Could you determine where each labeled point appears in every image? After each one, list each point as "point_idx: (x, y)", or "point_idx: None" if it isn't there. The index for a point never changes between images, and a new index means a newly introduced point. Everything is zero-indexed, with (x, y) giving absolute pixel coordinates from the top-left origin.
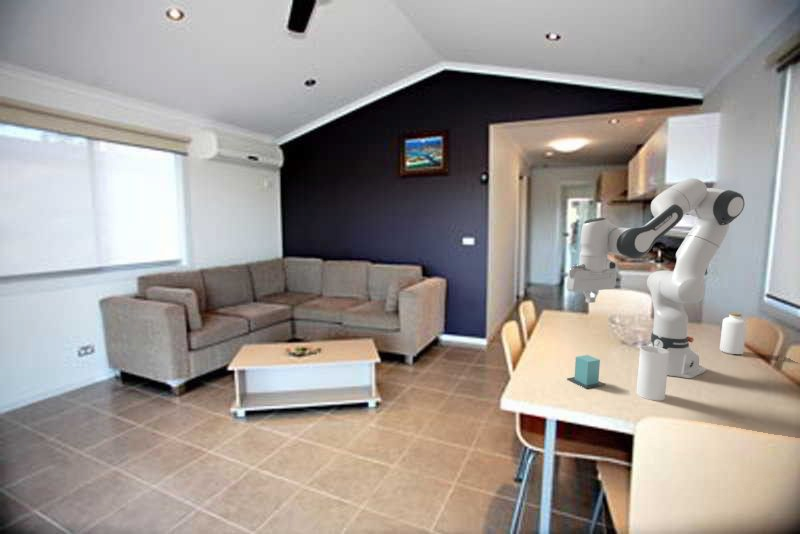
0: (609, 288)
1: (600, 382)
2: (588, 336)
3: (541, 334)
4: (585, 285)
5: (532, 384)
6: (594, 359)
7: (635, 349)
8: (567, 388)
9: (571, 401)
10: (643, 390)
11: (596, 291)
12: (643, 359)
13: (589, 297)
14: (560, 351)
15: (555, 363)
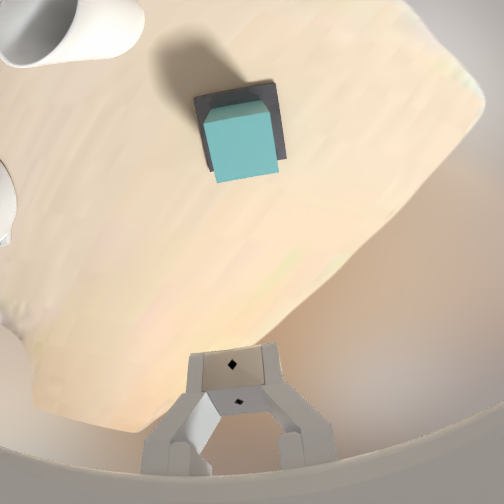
0: (11, 453)
1: (200, 111)
2: (73, 378)
3: (167, 403)
4: (456, 501)
5: (400, 152)
6: (223, 131)
7: (5, 308)
8: (328, 101)
9: (373, 32)
10: (136, 8)
11: (176, 458)
12: (99, 1)
13: (286, 388)
14: (174, 332)
15: (238, 268)
